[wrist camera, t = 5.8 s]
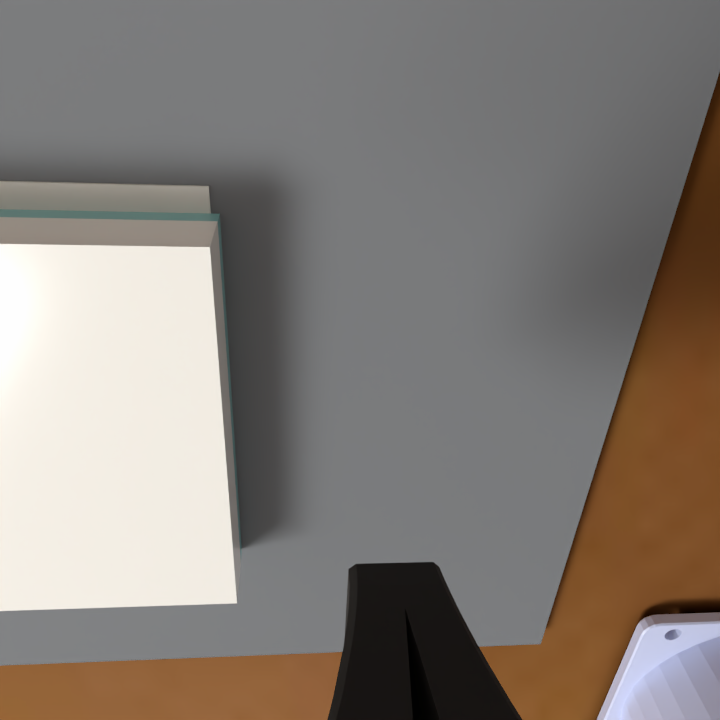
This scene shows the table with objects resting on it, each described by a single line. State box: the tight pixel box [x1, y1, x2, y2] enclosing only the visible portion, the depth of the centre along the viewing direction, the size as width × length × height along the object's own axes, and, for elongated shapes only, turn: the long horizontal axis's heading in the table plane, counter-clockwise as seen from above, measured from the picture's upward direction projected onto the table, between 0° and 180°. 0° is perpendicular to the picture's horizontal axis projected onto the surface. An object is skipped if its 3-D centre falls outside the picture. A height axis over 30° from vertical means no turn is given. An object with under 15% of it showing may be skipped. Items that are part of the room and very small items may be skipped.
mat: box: [0, 0, 720, 665], centre depth 15 cm, size 16×18×1 cm
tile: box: [0, 209, 242, 611], centre depth 14 cm, size 2×9×6 cm
